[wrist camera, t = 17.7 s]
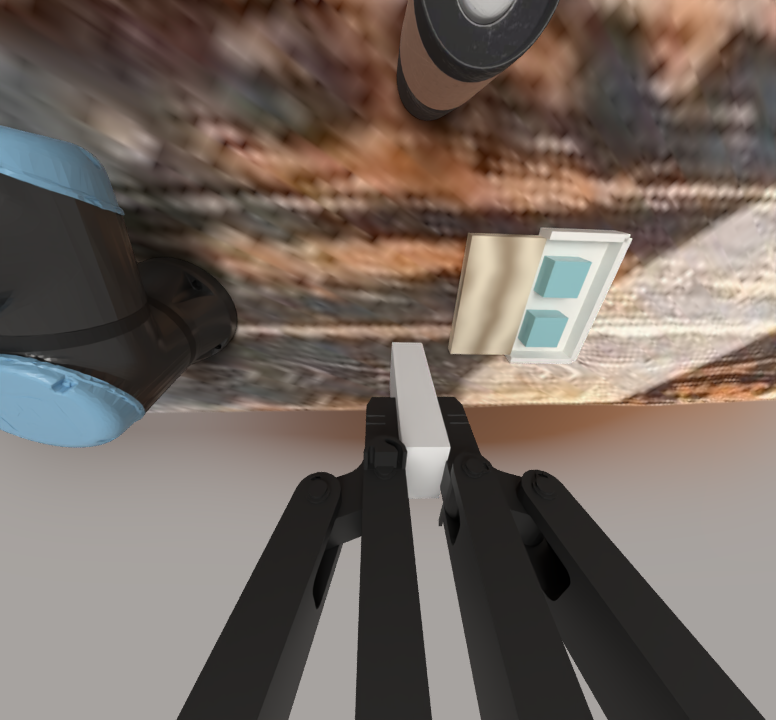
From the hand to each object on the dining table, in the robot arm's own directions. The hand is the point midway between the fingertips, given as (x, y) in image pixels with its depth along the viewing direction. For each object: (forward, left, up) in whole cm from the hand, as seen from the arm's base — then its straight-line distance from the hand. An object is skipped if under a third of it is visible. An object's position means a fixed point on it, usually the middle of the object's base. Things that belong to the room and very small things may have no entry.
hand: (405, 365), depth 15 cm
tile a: (+25, -3, -29) cm, 38 cm away
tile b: (+25, -11, -29) cm, 39 cm away
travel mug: (+4, +17, -30) cm, 34 cm away
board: (+16, -7, -29) cm, 34 cm away
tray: (+26, -7, -29) cm, 40 cm away
